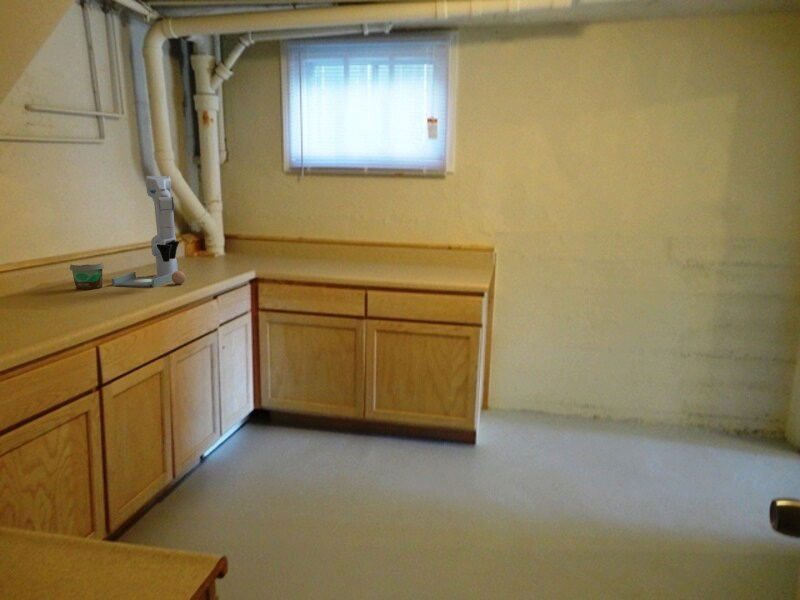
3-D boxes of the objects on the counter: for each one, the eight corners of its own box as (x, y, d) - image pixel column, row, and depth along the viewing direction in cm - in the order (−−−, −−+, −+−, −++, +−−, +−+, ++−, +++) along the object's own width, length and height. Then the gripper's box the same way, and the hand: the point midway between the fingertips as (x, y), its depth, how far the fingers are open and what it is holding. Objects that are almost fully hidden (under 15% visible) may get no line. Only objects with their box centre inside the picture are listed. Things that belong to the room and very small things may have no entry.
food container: (68, 291, 225) (65, 266, 223) (72, 288, 231) (69, 263, 228) (102, 290, 228) (100, 265, 226) (106, 287, 234) (103, 262, 232)
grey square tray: (133, 278, 252) (133, 272, 251) (173, 280, 250) (172, 273, 250) (112, 285, 237) (111, 278, 236) (154, 287, 235) (153, 279, 234)
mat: (139, 278, 253) (139, 276, 253) (170, 279, 251) (169, 277, 251) (115, 286, 235) (115, 284, 235) (148, 287, 234) (148, 285, 234)
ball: (175, 282, 245) (174, 269, 244) (188, 283, 244) (187, 270, 243) (169, 285, 240) (168, 272, 238) (182, 285, 239) (181, 272, 238)
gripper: (162, 225, 242) (165, 257, 245) (150, 228, 228) (153, 262, 231) (180, 225, 242) (182, 257, 245) (168, 228, 228) (171, 262, 231)
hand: (169, 260), depth 238 cm, fingers open, 7 cm apart
